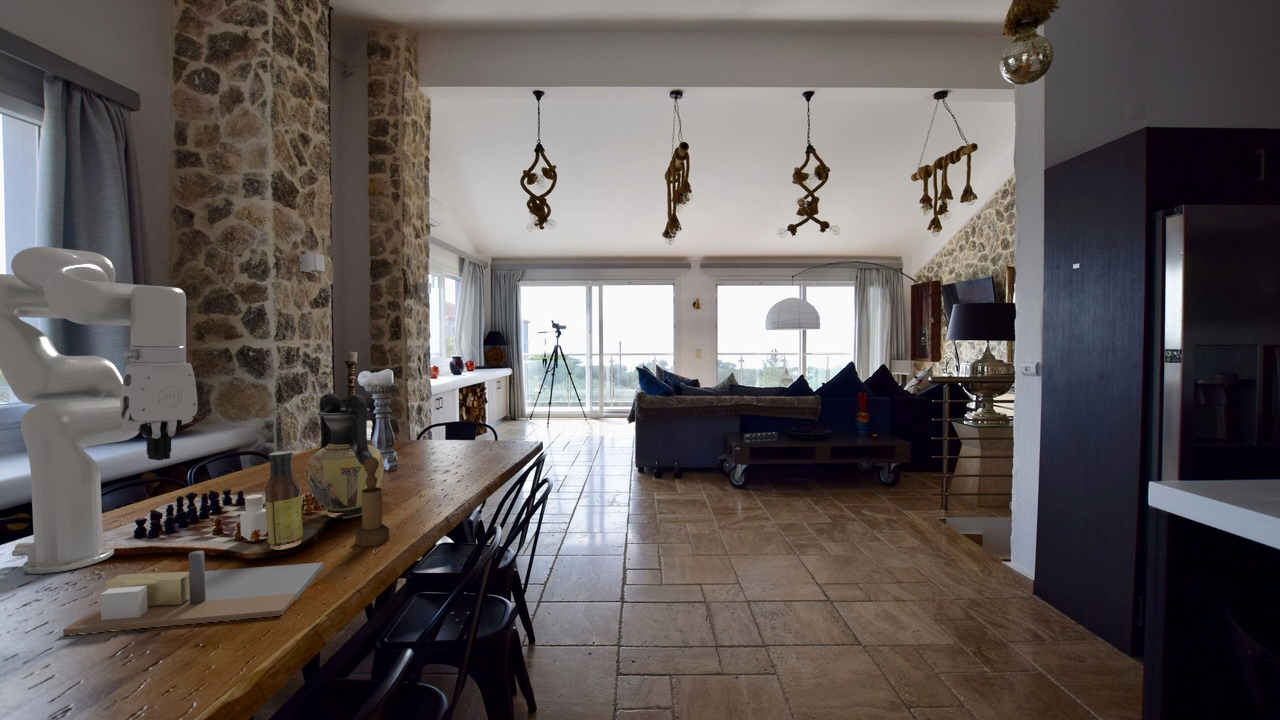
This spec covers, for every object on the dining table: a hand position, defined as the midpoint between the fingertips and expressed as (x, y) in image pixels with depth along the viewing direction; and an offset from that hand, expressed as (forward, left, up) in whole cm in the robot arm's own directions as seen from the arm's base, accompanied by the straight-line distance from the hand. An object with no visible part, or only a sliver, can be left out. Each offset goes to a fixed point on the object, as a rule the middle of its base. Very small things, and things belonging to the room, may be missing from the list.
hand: (159, 458), depth 103 cm
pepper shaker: (+7, +20, -22) cm, 31 cm away
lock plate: (+12, -9, -22) cm, 27 cm away
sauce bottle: (+15, +14, -22) cm, 30 cm away
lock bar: (+5, -12, -21) cm, 25 cm away
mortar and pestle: (+32, +14, -22) cm, 41 cm away
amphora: (+21, +36, -22) cm, 47 cm away
